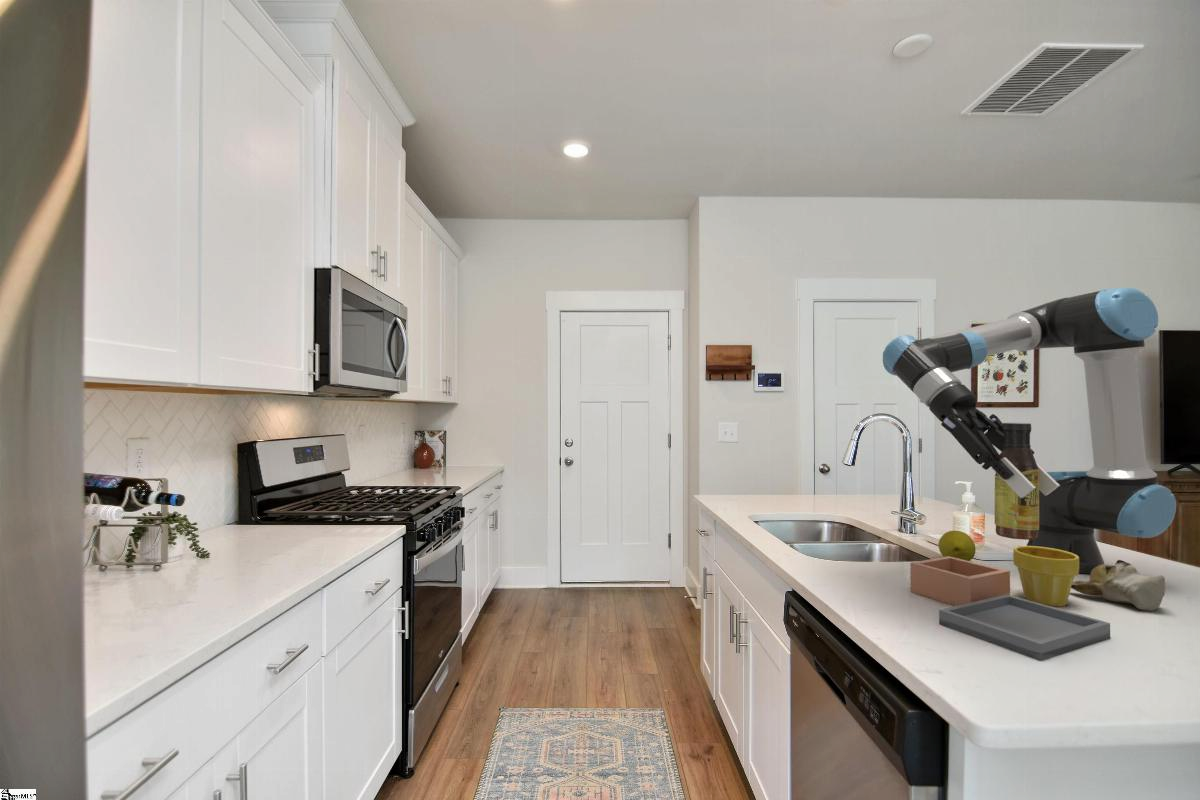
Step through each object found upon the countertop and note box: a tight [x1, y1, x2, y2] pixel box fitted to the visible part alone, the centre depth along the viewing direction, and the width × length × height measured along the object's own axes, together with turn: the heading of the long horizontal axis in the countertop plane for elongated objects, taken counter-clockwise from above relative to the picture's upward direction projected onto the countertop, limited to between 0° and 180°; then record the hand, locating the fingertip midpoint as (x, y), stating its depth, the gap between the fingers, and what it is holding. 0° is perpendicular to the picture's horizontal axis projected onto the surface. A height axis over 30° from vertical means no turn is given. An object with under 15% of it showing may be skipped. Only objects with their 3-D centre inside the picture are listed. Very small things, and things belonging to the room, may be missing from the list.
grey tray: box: [938, 594, 1111, 661], centre depth 97 cm, size 20×16×2 cm
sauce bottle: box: [994, 422, 1039, 541], centre depth 98 cm, size 6×6×20 cm
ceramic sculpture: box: [1071, 559, 1166, 612], centre depth 112 cm, size 11×9×15 cm
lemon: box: [937, 530, 976, 562], centre depth 139 cm, size 11×8×8 cm
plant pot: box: [1012, 545, 1080, 607], centre depth 112 cm, size 10×10×10 cm
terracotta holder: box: [910, 556, 1011, 606], centre depth 115 cm, size 12×12×6 cm
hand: (1040, 491), depth 94 cm, fingers closed on sauce bottle, 6 cm apart
